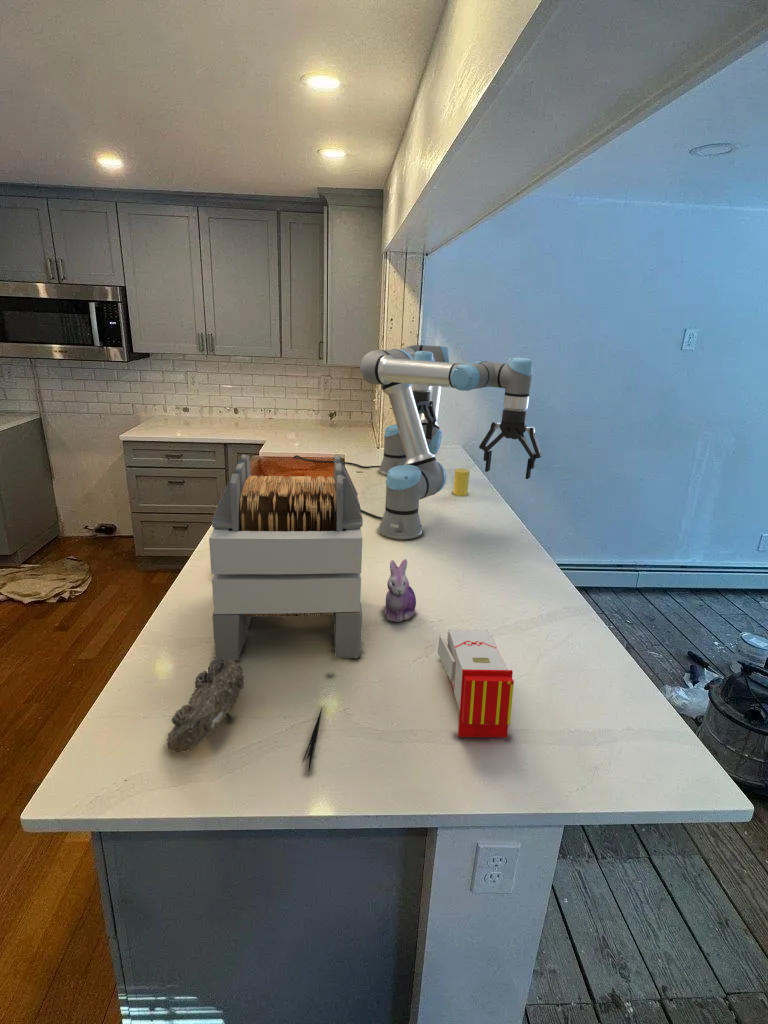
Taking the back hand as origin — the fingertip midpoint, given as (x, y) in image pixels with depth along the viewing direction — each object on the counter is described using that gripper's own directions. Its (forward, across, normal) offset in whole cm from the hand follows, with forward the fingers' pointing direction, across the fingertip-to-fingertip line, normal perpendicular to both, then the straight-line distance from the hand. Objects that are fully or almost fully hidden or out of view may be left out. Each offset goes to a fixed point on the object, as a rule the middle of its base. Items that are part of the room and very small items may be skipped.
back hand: (418, 441), depth 239 cm
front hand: (-4, -25, -58) cm, 63 cm away
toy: (+20, -98, -96) cm, 138 cm away
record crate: (+21, -107, -49) cm, 119 cm away
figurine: (+21, -84, -65) cm, 108 cm away
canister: (+22, +13, -15) cm, 30 cm away
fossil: (+20, -140, -66) cm, 156 cm away
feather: (+20, -126, -80) cm, 150 cm away
